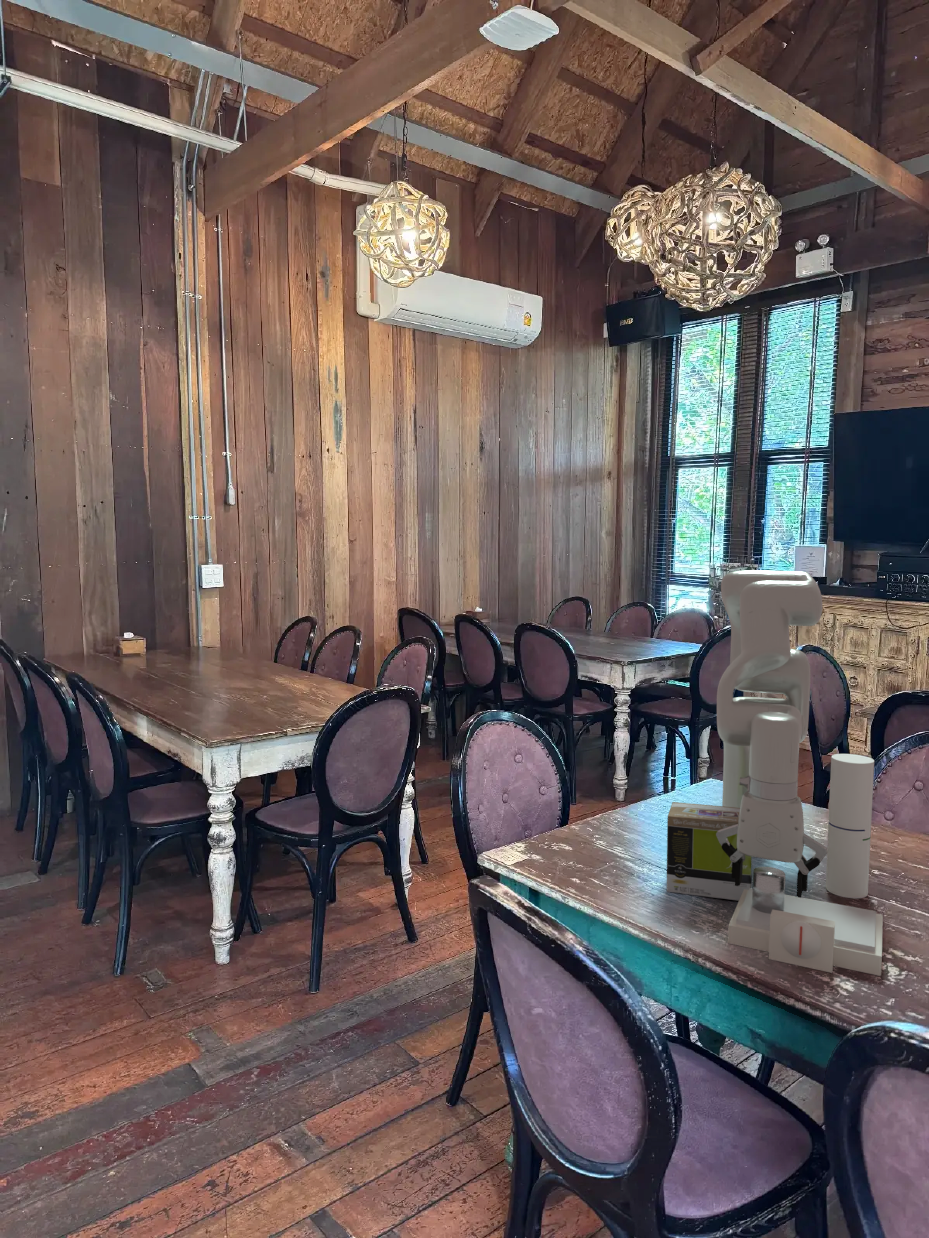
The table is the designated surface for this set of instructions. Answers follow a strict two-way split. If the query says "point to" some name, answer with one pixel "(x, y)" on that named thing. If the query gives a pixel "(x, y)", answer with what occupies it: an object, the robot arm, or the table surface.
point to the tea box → (703, 852)
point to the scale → (811, 934)
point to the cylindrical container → (849, 825)
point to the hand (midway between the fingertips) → (768, 888)
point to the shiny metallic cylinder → (768, 889)
